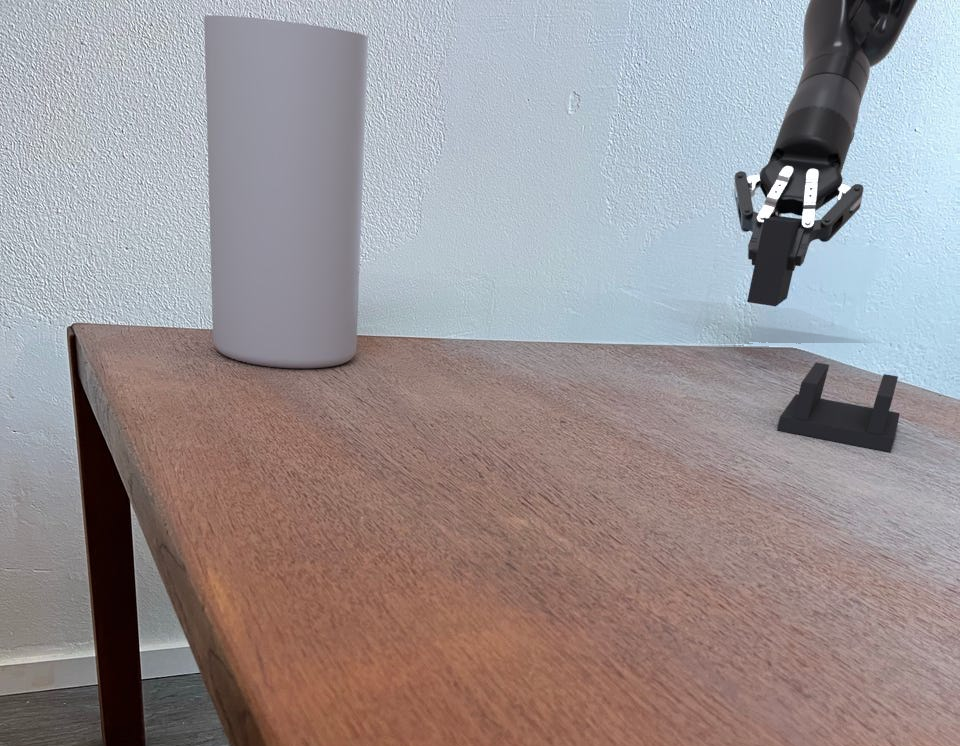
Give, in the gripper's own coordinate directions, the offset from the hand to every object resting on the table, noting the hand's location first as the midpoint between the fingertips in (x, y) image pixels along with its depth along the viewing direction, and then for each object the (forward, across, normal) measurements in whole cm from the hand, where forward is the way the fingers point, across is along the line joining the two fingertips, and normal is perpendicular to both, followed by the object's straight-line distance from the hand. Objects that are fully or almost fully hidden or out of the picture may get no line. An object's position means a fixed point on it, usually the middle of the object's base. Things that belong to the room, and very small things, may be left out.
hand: (773, 261), depth 101 cm
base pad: (+23, +11, -8) cm, 27 cm away
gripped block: (+1, 0, +4) cm, 4 cm away
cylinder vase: (+32, -36, -17) cm, 51 cm away
